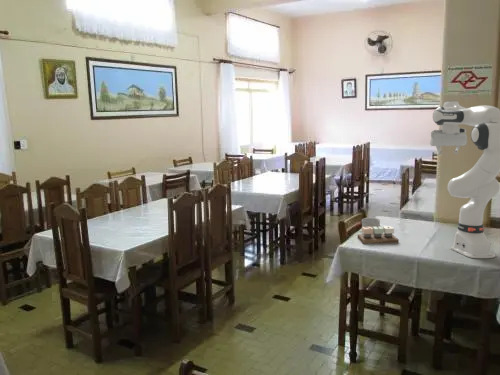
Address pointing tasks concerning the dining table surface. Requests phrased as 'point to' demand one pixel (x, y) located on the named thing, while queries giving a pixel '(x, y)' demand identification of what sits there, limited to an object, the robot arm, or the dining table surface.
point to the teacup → (370, 222)
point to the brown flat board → (377, 239)
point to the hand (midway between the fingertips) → (447, 153)
